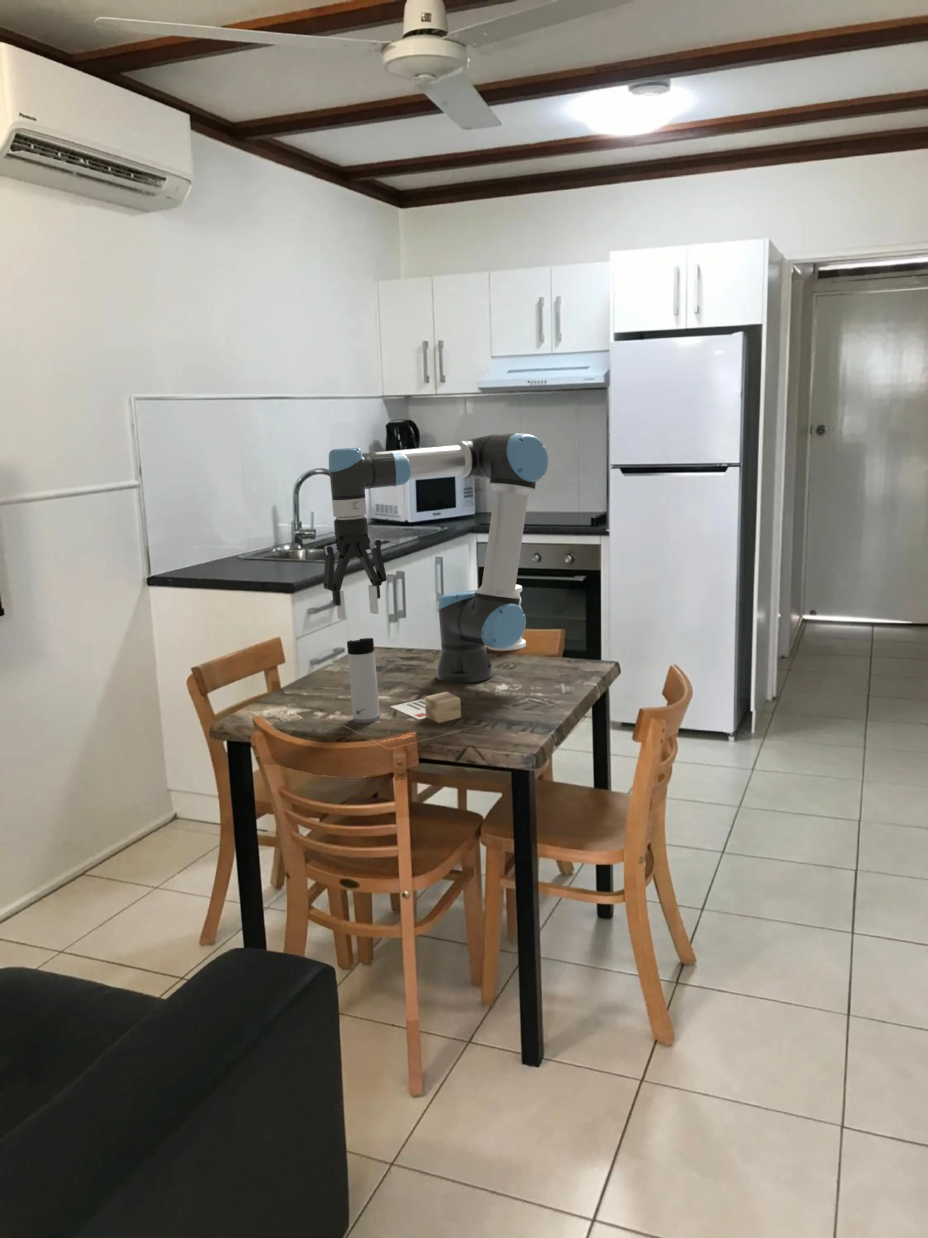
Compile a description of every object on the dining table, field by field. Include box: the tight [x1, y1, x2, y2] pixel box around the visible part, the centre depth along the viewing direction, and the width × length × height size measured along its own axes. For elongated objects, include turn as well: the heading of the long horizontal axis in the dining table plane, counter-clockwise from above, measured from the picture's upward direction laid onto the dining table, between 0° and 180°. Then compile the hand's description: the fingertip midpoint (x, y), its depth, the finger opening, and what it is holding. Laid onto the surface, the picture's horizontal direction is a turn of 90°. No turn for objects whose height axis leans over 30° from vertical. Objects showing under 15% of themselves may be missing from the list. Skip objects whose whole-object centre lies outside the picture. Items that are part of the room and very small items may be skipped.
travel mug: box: [346, 637, 381, 724], centre depth 234 cm, size 6×7×20 cm
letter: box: [390, 697, 428, 720], centre depth 241 cm, size 14×10×1 cm
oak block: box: [424, 691, 462, 724], centre depth 233 cm, size 6×6×5 cm
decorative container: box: [487, 583, 527, 652], centre depth 298 cm, size 12×12×18 cm
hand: (358, 615), depth 231 cm, fingers open, 8 cm apart
